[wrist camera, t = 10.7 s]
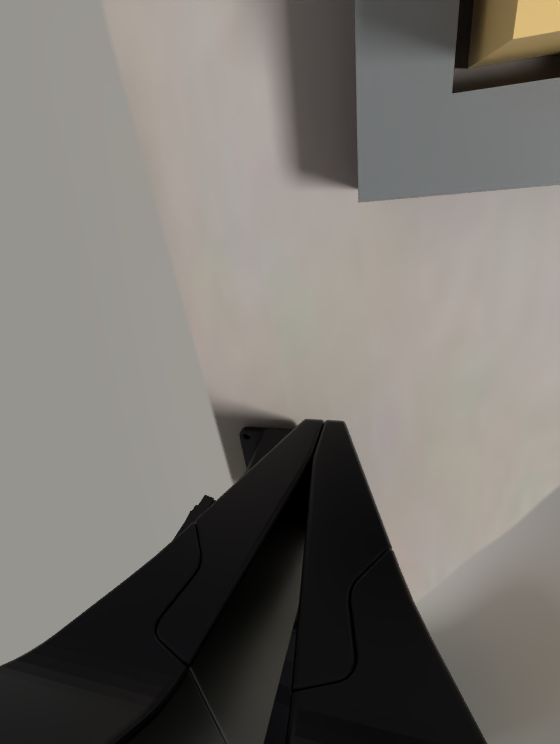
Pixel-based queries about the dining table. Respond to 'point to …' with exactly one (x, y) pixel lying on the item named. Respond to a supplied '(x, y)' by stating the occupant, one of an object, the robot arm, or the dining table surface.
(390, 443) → the dining table surface
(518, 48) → the plug
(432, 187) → the socket
